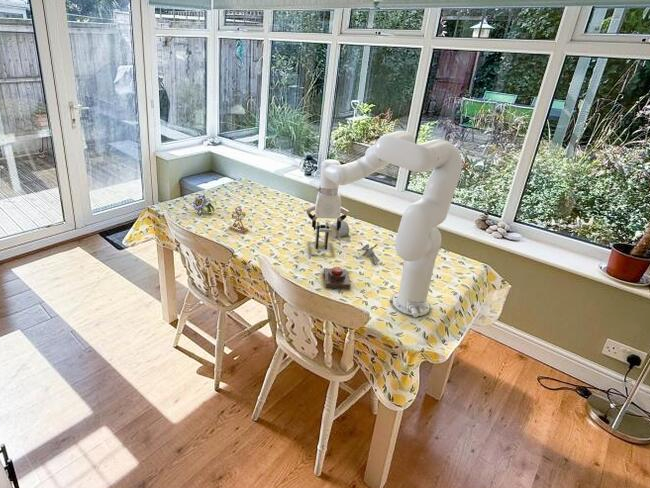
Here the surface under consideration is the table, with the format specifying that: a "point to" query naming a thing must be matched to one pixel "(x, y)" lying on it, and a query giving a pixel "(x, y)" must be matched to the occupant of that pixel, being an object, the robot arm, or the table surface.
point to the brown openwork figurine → (239, 221)
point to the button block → (336, 279)
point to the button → (337, 271)
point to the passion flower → (202, 204)
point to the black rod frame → (318, 235)
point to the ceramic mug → (342, 231)
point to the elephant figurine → (370, 253)
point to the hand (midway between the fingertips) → (326, 229)
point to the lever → (324, 229)
